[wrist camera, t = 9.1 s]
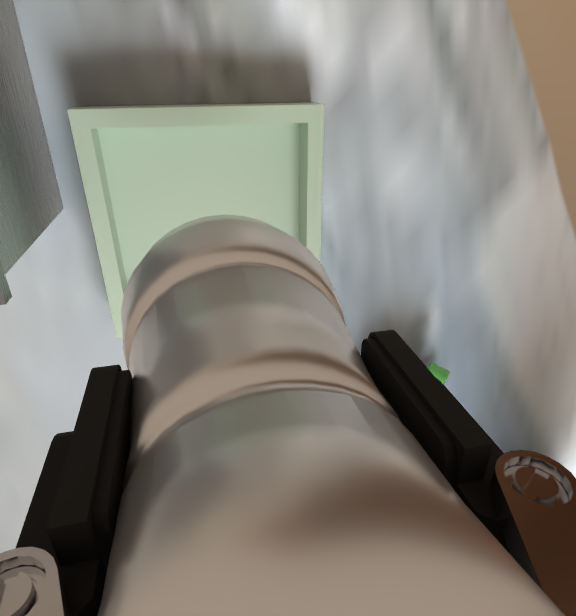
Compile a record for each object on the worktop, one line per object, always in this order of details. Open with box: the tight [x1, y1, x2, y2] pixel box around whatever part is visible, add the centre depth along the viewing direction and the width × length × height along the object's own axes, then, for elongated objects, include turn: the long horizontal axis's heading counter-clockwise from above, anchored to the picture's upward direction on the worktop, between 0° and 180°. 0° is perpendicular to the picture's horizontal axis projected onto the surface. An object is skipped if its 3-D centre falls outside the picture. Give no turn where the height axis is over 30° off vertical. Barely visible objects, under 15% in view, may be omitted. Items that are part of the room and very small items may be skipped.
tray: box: [67, 102, 324, 339], centre depth 24 cm, size 12×12×2 cm
